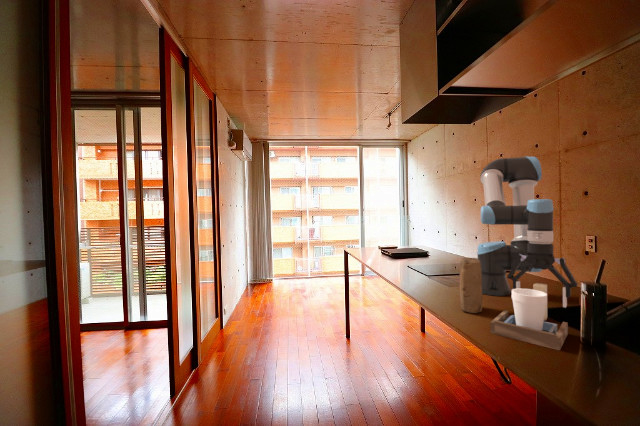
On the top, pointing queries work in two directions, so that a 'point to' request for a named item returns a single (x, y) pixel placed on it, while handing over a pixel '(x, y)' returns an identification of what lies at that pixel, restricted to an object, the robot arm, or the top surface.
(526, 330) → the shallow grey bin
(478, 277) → the block
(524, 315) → the foam cup
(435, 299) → the top surface
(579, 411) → the top surface
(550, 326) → the tray
